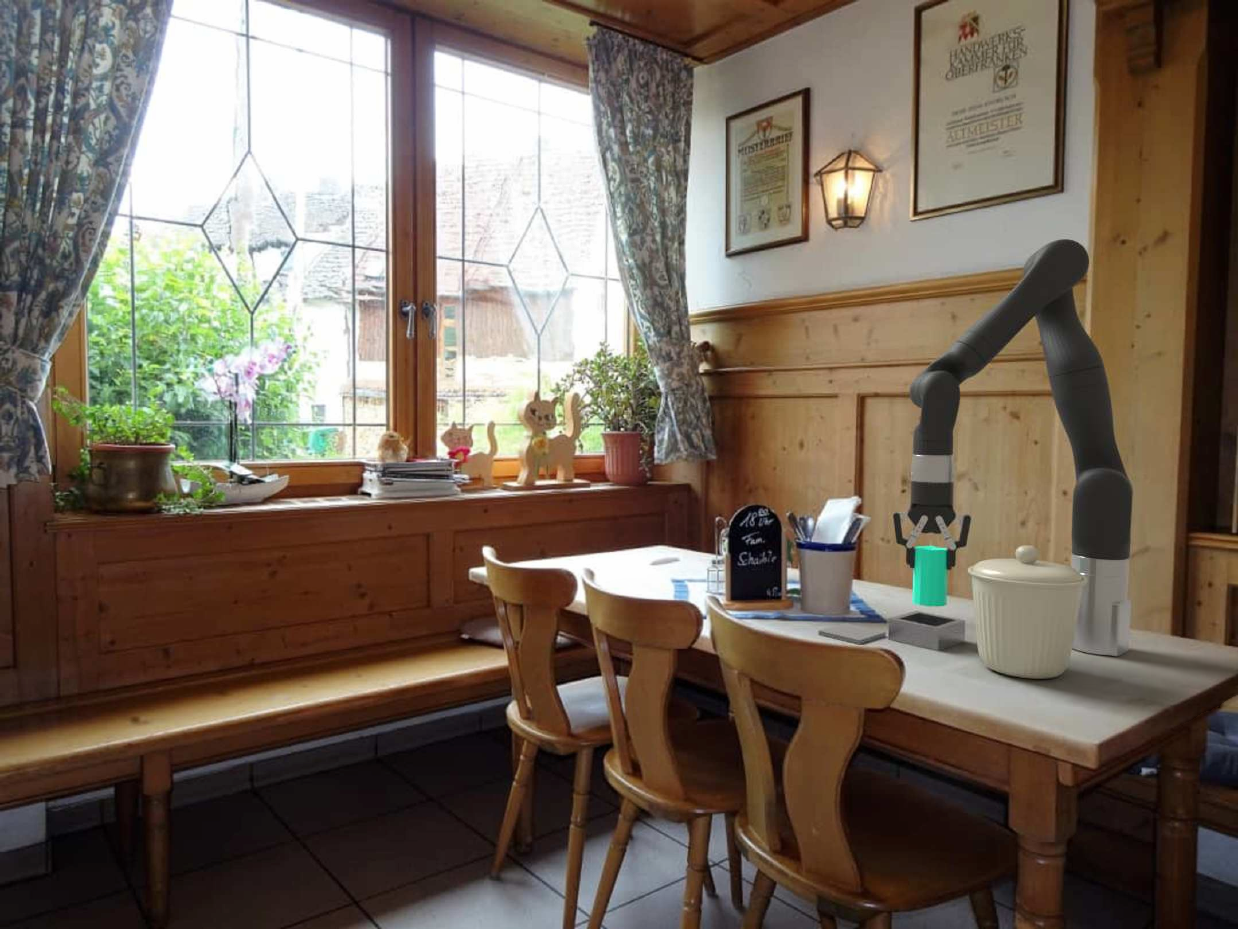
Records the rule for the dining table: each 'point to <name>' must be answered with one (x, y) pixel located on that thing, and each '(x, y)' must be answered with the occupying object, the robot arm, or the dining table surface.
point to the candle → (930, 576)
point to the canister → (1026, 614)
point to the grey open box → (926, 630)
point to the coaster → (852, 633)
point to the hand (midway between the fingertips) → (930, 568)
